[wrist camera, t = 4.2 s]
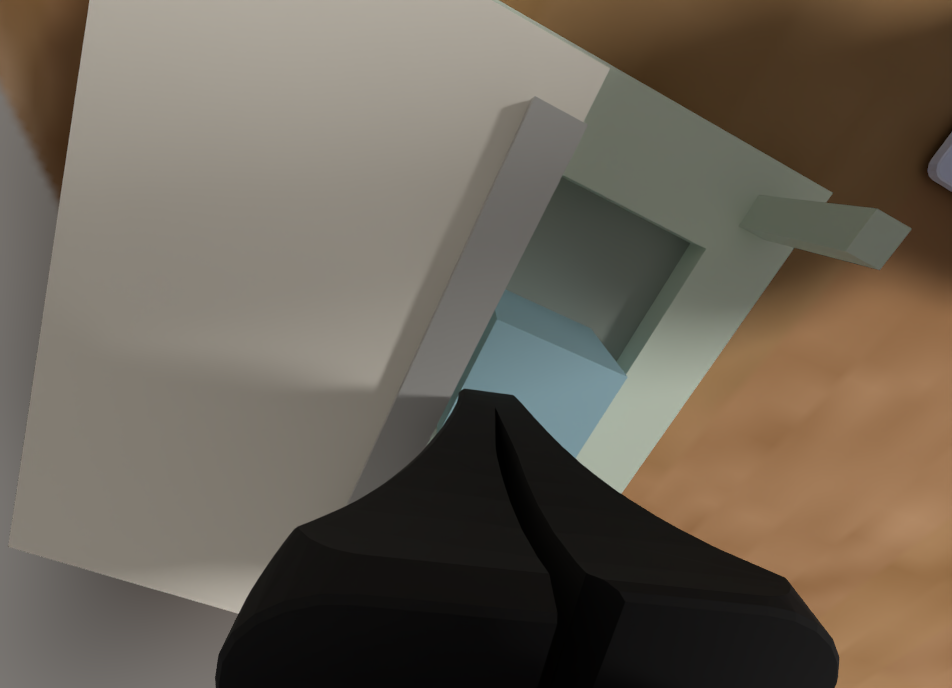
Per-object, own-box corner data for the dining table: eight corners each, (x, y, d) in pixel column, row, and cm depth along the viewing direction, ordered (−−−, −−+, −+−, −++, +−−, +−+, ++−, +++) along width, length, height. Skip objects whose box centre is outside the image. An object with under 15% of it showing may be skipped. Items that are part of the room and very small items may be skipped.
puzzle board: (801, 190, 15) (979, 205, 10) (542, 570, 21) (569, 708, 16) (296, -97, 12) (171, -292, 7) (155, 437, 18) (28, 552, 13)
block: (590, 328, 17) (627, 376, 13) (538, 418, 18) (557, 485, 14) (489, 282, 16) (497, 318, 12) (441, 379, 17) (435, 439, 13)
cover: (597, 76, 9) (619, 62, 7) (333, 612, 14) (320, 657, 12) (156, -175, 7) (95, -242, 6) (36, 523, 12) (-11, 563, 11)
